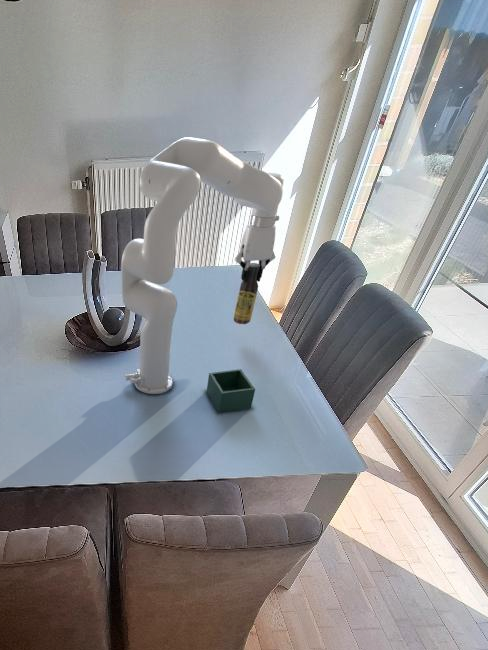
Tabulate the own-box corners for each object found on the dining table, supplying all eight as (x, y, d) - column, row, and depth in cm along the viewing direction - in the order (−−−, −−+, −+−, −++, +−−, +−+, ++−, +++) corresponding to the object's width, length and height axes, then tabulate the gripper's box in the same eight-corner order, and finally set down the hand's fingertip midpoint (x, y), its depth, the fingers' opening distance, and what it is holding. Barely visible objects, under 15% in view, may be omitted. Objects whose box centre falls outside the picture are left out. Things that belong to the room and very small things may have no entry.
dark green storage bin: (218, 412, 141) (221, 393, 136) (206, 391, 149) (209, 372, 144) (250, 408, 142) (255, 389, 137) (237, 387, 150) (241, 369, 145)
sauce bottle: (230, 323, 167) (240, 266, 153) (236, 316, 171) (245, 260, 157) (248, 326, 165) (259, 268, 151) (253, 319, 169) (264, 262, 155)
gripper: (282, 216, 148) (268, 274, 161) (233, 219, 146) (223, 278, 159) (292, 222, 143) (277, 282, 156) (242, 226, 141) (231, 286, 154)
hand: (250, 280), depth 158 cm, fingers closed on sauce bottle, 4 cm apart
